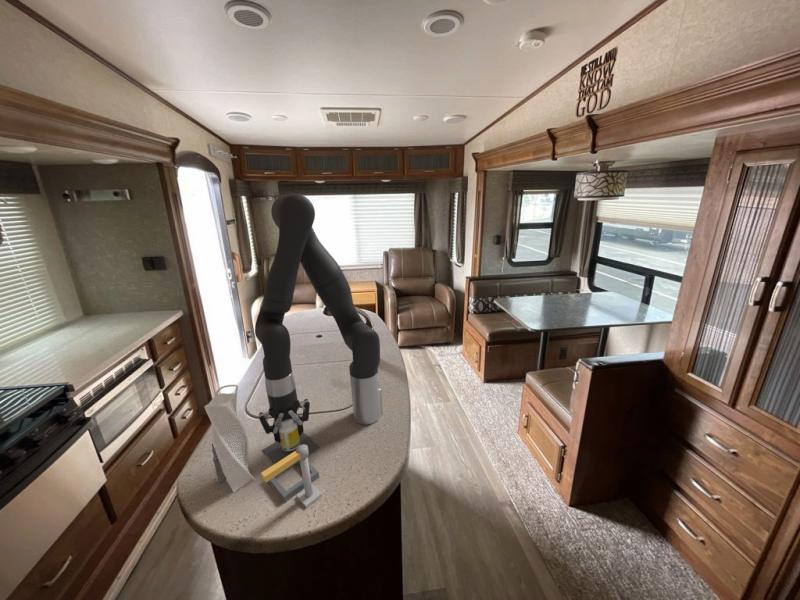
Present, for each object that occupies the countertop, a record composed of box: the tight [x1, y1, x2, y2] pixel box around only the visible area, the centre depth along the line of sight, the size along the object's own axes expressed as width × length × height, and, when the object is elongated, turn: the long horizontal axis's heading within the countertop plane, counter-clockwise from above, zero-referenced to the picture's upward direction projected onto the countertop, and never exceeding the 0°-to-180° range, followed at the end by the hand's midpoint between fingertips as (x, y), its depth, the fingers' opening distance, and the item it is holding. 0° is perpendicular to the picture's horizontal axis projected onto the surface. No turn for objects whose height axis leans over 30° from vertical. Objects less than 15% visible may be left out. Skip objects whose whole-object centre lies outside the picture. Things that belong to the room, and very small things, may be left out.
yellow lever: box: [260, 444, 309, 483], centre depth 71 cm, size 11×3×2 cm, turn 138°
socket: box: [267, 456, 323, 509], centre depth 79 cm, size 10×15×13 cm, turn 47°
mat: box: [262, 431, 321, 465], centre depth 93 cm, size 12×12×1 cm
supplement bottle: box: [278, 418, 300, 451], centre depth 91 cm, size 5×5×10 cm
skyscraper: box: [204, 384, 255, 498], centre depth 79 cm, size 8×8×28 cm
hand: (289, 436), depth 92 cm, fingers closed on supplement bottle, 5 cm apart
